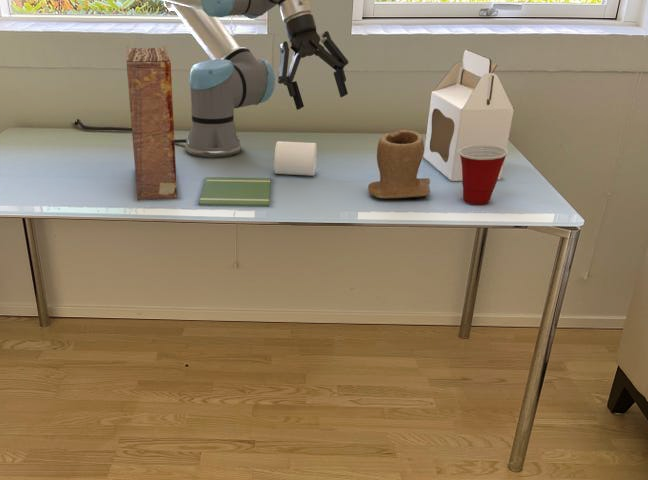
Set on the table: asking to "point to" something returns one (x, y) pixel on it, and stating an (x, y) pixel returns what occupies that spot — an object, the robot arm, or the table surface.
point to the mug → (295, 158)
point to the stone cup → (400, 166)
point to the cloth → (236, 191)
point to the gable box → (466, 114)
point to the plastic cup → (480, 171)
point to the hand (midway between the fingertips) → (322, 102)
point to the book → (152, 122)
